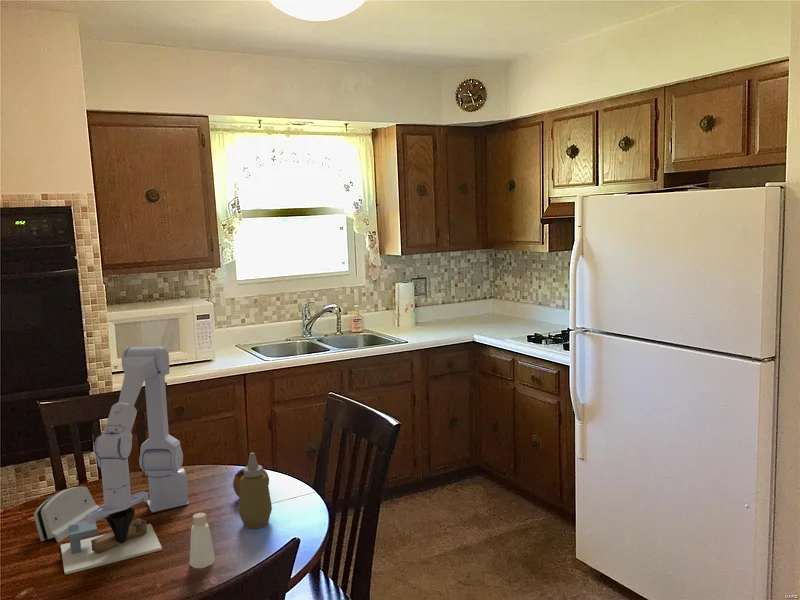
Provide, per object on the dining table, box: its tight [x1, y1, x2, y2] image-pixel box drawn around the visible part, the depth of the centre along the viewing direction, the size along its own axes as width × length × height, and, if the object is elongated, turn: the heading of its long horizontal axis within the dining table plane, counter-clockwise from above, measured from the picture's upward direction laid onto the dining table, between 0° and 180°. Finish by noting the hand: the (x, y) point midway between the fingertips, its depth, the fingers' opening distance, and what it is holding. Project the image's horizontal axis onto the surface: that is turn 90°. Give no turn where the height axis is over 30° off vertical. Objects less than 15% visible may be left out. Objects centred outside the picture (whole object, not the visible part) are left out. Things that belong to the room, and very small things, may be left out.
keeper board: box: [60, 521, 163, 576], centre depth 155 cm, size 20×14×6 cm
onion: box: [232, 467, 270, 498], centre depth 181 cm, size 10×9×10 cm
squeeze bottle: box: [238, 452, 273, 529], centre depth 164 cm, size 8×8×18 cm
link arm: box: [91, 518, 147, 553], centre depth 157 cm, size 13×4×3 cm, turn 145°
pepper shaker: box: [189, 512, 216, 569], centre depth 147 cm, size 5×5×11 cm
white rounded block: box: [33, 485, 101, 543], centre depth 167 cm, size 17×5×10 cm, turn 167°
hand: (121, 541), depth 154 cm, fingers closed, pressing on link arm
